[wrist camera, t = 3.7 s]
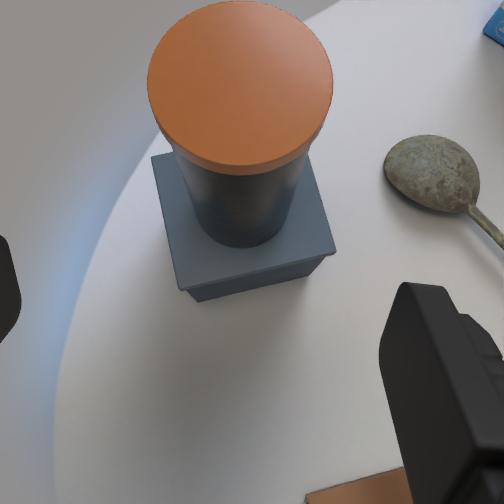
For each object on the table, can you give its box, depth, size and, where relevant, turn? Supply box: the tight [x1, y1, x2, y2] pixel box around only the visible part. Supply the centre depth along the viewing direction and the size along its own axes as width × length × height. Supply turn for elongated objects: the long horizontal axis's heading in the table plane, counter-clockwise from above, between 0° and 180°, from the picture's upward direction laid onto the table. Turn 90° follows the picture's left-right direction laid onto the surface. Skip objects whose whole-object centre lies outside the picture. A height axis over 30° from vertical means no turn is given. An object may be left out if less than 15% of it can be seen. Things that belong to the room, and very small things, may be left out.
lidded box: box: [151, 152, 336, 302], centre depth 30 cm, size 9×8×9 cm
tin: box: [147, 1, 333, 249], centre depth 20 cm, size 6×6×12 cm
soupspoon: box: [384, 135, 504, 250], centre depth 33 cm, size 22×3×7 cm
